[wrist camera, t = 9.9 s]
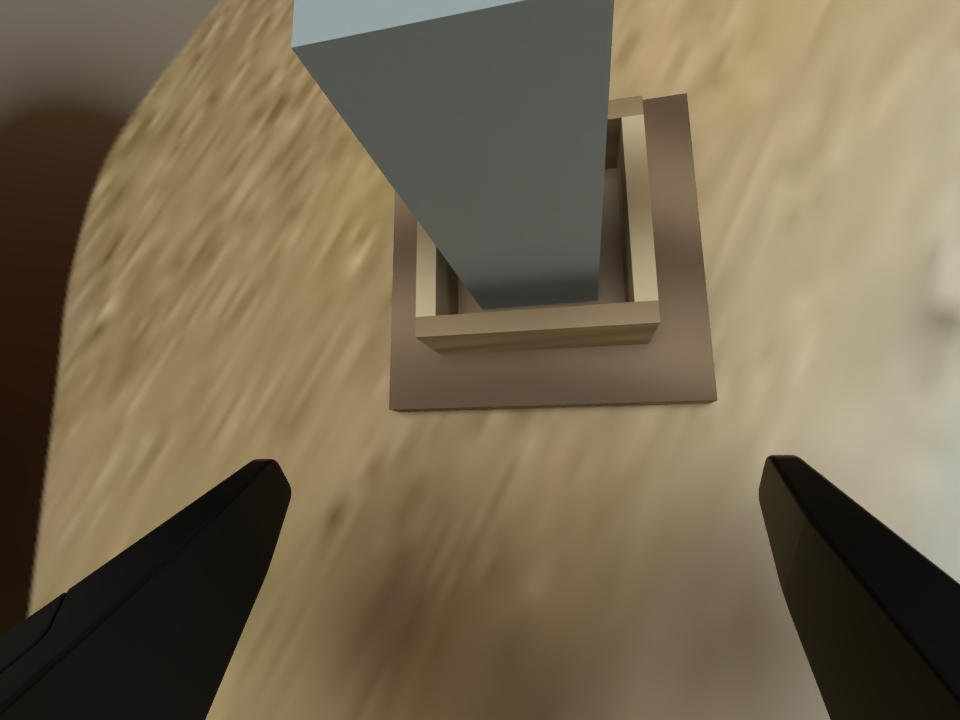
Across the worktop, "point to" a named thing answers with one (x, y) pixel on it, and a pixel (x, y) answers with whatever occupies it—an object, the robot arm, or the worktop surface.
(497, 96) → the slate peg
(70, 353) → the worktop surface
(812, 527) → the robot arm
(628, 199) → the pocket board
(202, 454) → the worktop surface
